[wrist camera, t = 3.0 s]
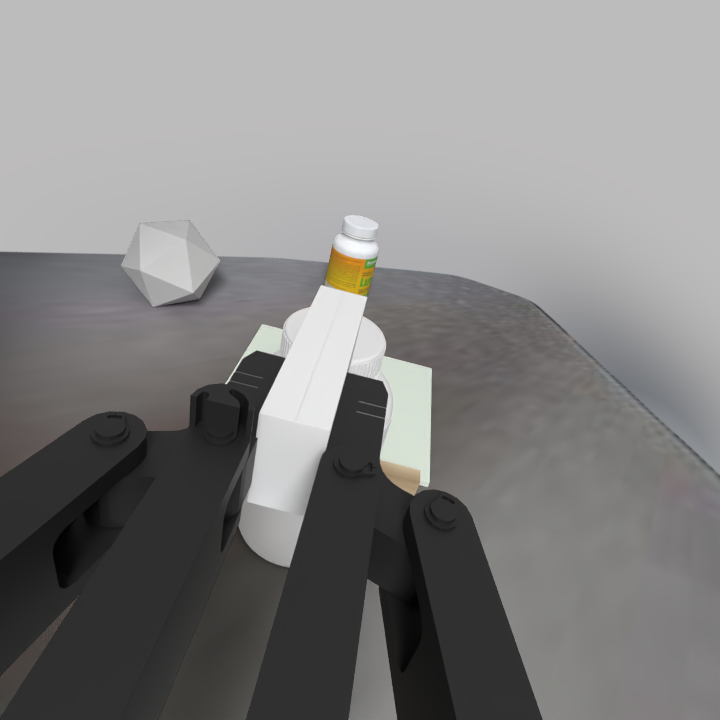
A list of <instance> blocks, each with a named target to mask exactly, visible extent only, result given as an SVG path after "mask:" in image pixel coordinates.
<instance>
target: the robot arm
mask: <svg viewBox="0 0 720 720" xmlns="http://www.w3.org/2000/svg"><path fill="white" fill-rule="evenodd" d="M366 300H367V297H365V296H361V295H357V294H353V293H349V292H345V291H341V290H338V289H334V288H330V287H326V286H322V285H321V287H320V289H319V291H318V293H317V295H316V297H315V299H314V301H313V303H312V305H311V307H310V309H309V311H308V313H307V316H306V318H305V320H304V322H303V324H302V326H301V328H300V330H299V332H298V334H297V336H296V338H295V340H294V342H293V344H292V346H291V349H290V351H289V353H288V355H287V357H286V358H284V357H280V356H276V355H273V354H269V353H265V352H261V351H257V350H256V351H255V352H253V353H251V354H250V355H248V356H246V357H245V358H243V359H242V361H241V362H240V364H239V365H238V367H237V369H236V371H235V372H234V373H233V375H232V377H231V378H230V381H229V382H228V383H227V384H212V385H207V386H204V387H202V388H199V389H197V390H196V391H195V392H194V393H193V394H192V395H191V399H190V425H189V427H188V428H187V429H183V430H179V431H147V429H146V427H145V424H144V422H143V421H142V420H141V419H139V418H138V417H136V416H135V415H132V414H129V413H125V412H105V413H101V414H96V415H94V416H92V417H90V418H88V419H86V420H84V421H82V422H81V423H79V424H78V425H76V426H75V427H74V428H72V429H71V430H69V431H68V432H66V433H65V434H63V435H62V436H60V437H59V438H57V439H56V440H55V441H53V442H52V443H50V444H49V445H47V446H46V447H44V448H43V449H41V450H40V451H38V452H37V453H36V454H34V455H33V456H31V457H30V458H28V459H27V460H25V461H24V462H22V463H21V464H19V465H18V466H16V467H15V468H14V469H12V470H11V471H9V472H8V473H6V474H5V475H3V476H2V477H0V676H1V675H2V674H3V673H4V672H5V671H6V670H7V669H8V668H9V667H10V666H11V664H12V663H13V662H14V661H15V660H16V659H17V658H18V657H19V656H20V655H21V654H22V653H23V652H24V651H25V650H26V649H27V648H28V647H29V646H30V645H31V644H32V643H33V642H34V641H35V640H36V639H37V638H38V637H39V636H40V635H41V634H42V633H43V632H44V631H45V630H46V628H47V627H48V626H49V625H50V624H51V623H52V622H53V621H54V620H55V619H56V618H57V617H58V616H59V615H60V614H61V613H62V612H63V611H64V610H65V609H66V608H67V607H68V606H69V605H70V604H71V603H72V602H73V601H74V600H75V599H76V598H77V597H78V596H79V597H78V599H77V600H76V602H75V603H74V605H73V606H72V608H71V609H70V611H69V612H68V614H67V616H66V617H65V619H64V620H63V622H62V623H61V625H60V626H59V628H58V629H57V631H56V632H55V634H54V636H53V637H52V639H51V640H50V642H49V643H48V645H47V646H46V648H45V649H44V651H43V653H42V654H41V656H40V657H39V659H38V660H37V662H36V663H35V665H34V666H33V668H32V669H31V671H30V673H29V674H28V676H27V677H26V679H25V680H24V682H23V683H22V685H21V686H20V688H19V690H18V691H17V693H16V694H15V696H14V697H13V699H12V700H11V702H10V703H9V705H8V706H7V708H6V710H5V711H4V713H3V714H2V716H1V717H0V720H158V719H159V717H160V714H161V712H162V709H163V707H164V704H165V702H166V700H167V697H168V695H169V692H170V690H171V687H172V685H173V683H174V680H175V678H176V675H177V673H178V670H179V668H180V666H181V663H182V661H183V658H184V656H185V653H186V651H187V648H188V646H189V644H190V641H191V639H192V636H193V634H194V631H195V629H196V627H197V624H198V622H199V619H200V617H201V614H202V612H203V610H204V607H205V605H206V602H207V600H208V597H209V595H210V593H211V590H212V588H213V585H214V583H215V580H216V578H217V576H218V573H219V571H220V568H221V566H222V563H223V561H224V559H225V556H226V554H227V551H228V549H229V546H230V544H231V542H232V539H233V537H234V534H235V532H236V529H237V527H238V524H239V522H240V517H241V510H242V505H243V502H244V500H245V498H246V495H247V493H248V498H247V502H250V503H254V504H257V505H261V506H265V507H269V508H273V509H277V510H281V511H285V512H289V513H293V514H297V515H301V516H304V518H303V522H302V525H301V529H300V532H299V536H298V539H297V543H296V546H295V550H294V553H293V557H292V560H291V564H290V567H289V571H288V574H287V578H286V581H285V585H284V588H283V592H282V595H281V599H280V602H279V606H278V609H277V613H276V616H275V620H274V623H273V627H272V630H271V634H270V637H269V641H268V644H267V648H266V651H265V655H264V658H263V662H262V665H261V669H260V672H259V676H258V679H257V683H256V686H255V690H254V693H253V697H252V700H251V704H250V707H249V711H248V714H247V718H246V720H348V718H349V710H350V703H351V695H352V688H353V680H354V673H355V665H356V658H357V650H358V643H359V635H360V628H361V620H362V613H363V605H364V598H365V590H366V583H367V579H369V580H371V581H372V582H374V583H375V584H377V585H379V594H380V601H381V608H382V615H383V622H384V629H385V636H386V643H387V650H388V657H389V664H390V671H391V678H392V685H393V692H394V699H395V706H396V713H397V720H542V717H541V714H540V711H539V708H538V705H537V702H536V700H535V697H534V694H533V691H532V688H531V685H530V682H529V679H528V677H527V674H526V671H525V668H524V665H523V662H522V659H521V656H520V654H519V651H518V648H517V645H516V642H515V639H514V636H513V633H512V631H511V628H510V625H509V622H508V619H507V616H506V613H505V610H504V608H503V605H502V602H501V599H500V596H499V593H498V590H497V587H496V585H495V582H494V579H493V576H492V573H491V570H490V567H489V565H488V562H487V559H486V556H485V553H484V550H483V547H482V544H481V542H480V539H479V536H478V533H477V530H476V527H475V524H474V521H473V519H472V516H471V514H470V513H469V511H468V509H467V507H466V506H465V505H464V504H463V503H462V502H461V501H460V500H458V499H457V498H456V497H454V496H452V495H450V494H448V493H446V492H443V491H439V490H424V491H421V492H420V493H418V494H416V495H415V496H414V495H412V494H410V493H408V492H406V491H404V490H403V489H401V488H399V487H398V486H396V485H395V484H393V483H392V482H391V481H390V480H389V479H388V478H387V476H386V475H385V473H384V472H383V470H382V468H381V465H380V453H381V445H382V438H383V431H384V424H385V416H386V408H387V402H388V392H387V390H386V388H385V385H384V383H383V381H380V380H376V379H372V378H368V377H364V376H360V375H356V374H352V373H348V372H349V369H350V365H351V361H352V357H353V353H354V349H355V345H356V341H357V337H358V333H359V329H360V325H361V321H362V317H363V313H364V309H365V305H366Z"/></svg>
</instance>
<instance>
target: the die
mask: <svg viewBox="0 0 720 720" xmlns="http://www.w3.org/2000/svg"><path fill="white" fill-rule="evenodd" d="M219 262H220V260H219V258H218V257H217V256H216V254H215V253H214V252H213V251H212V249H211V248H210V246H209V245H208V244H207V242H206V241H205V240H204V238H203V237H202V236H201V235H200V233H199V232H198V231H197V229H196V228H195V227H194V225H193V224H192V223H191V221H190V220H184V221H167V222H151V223H140V224H139V226H138V228H137V231H136V233H135V235H134V237H133V240H132V242H131V244H130V247H129V249H128V251H127V253H126V256H125V258H124V260H123V262H122V265H121V267H122V268H123V269H124V270H125V272H126V273H127V274H128V276H129V277H130V278H131V279H132V281H133V282H134V283H135V285H136V286H137V287H138V288H139V290H140V291H141V292H142V294H143V295H144V296H145V297H146V299H147V300H148V301H149V302H150V304H151V305H152V306H153V307H157V306H163V305H169V304H174V303H180V302H186V301H192V300H198V299H200V298H201V296H202V294H203V292H204V291H205V289H206V287H207V285H208V283H209V281H210V279H211V277H212V276H213V274H214V272H215V270H216V268H217V266H218V264H219Z"/></svg>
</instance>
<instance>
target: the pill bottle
mask: <svg viewBox="0 0 720 720" xmlns="http://www.w3.org/2000/svg"><path fill="white" fill-rule="evenodd" d="M309 309H310V307H309V308H305V309H302V310H299V311H297V312H295V313H293V314H292V315H291V316H290V317H289V318H288V319H287V320H286V322H285V323H284V326H283V332H282V339H281V350H279V351H277V352H275V353H274V354H273V355H276V356H280V357H284V358H286V357H287V355H288V353H289V351H290V349H291V346H292V344H293V342H294V340H295V338H296V336H297V334H298V332H299V330H300V328H301V326H302V324H303V322H304V320H305V318H306V316H307V313H308V311H309ZM385 349H386V340H385V338H384V335H383V333H382V332H381V330H380V329H379V328H378V327H377V326H376V325H375V324H374V323H373V322H371V321H370V320H369V319H367V318H365V317H362V321H361V325H360V329H359V333H358V337H357V341H356V345H355V349H354V353H353V357H352V361H351V365H350V369H349V372H348V373H352V374H356V375H360V376H364V377H368V378H372V379H376V380H380V381H383V383H384V385H385V388H386V390H387V392H388V402H387V408H386V416H385V424H384V431H383V438H382V445H381V449H382V446H383V444H384V441H385V438H386V435H387V432H388V429H389V426H390V423H391V419H392V415H393V395H392V391H391V388H390V385H389V383H388V381H387V379H386V378H385V376H384V375H383V374H382V372H381V369H380V367H381V364H382V360H383V357H384V353H385ZM247 498H248V493H247V495H246V498H245V500H244V502H243V505H242V510H241V517H240V522H239V524H238V526H239V529H240V532H241V534H242V536H243V538H244V540H245V541H246V543H247V544H248V545H249V547H250V548H251V549H252V550H253V551H254V552H255V553H257V554H258V555H259V556H261V557H262V558H264V559H265V560H267V561H269V562H271V563H274V564H277V565H280V566H284V567H290V564H291V560H292V557H293V553H294V550H295V546H296V543H297V539H298V536H299V532H300V529H301V525H302V522H303V518H304V516H301V515H297V514H293V513H289V512H285V511H281V510H277V509H273V508H269V507H265V506H261V505H257V504H254V503H250V502H247Z"/></svg>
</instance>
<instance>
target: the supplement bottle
mask: <svg viewBox="0 0 720 720" xmlns="http://www.w3.org/2000/svg"><path fill="white" fill-rule="evenodd" d="M342 231H343V233H341V234H339V235H337V236H336V237H335V239H334V241H333V245H332V250H331V255H330V260H329V265H328V270H327V275H326V279H325V284H324V286H326V287H330V288H334V289H338V290H341V291H345V292H349V293H353V294H357V295H361V296H365V297H367V295H368V291H369V288H370V284H371V280H372V276H373V272H374V268H375V264H376V260H377V256H378V252H379V248H378V245H377V244H376V242H375V241H374V239H375V238H376V235H377V231H378V224H377V223H375V222H374V221H372V220H371V219H368V218H365V217H361V216H355V215H350V216H346V217H345V218H344V222H343V225H342Z"/></svg>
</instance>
